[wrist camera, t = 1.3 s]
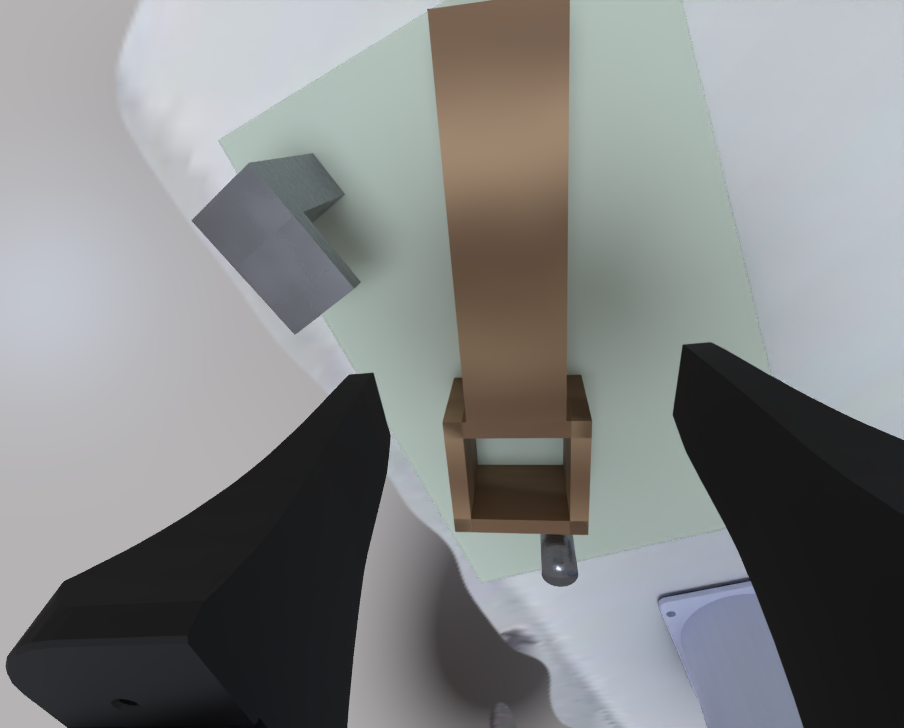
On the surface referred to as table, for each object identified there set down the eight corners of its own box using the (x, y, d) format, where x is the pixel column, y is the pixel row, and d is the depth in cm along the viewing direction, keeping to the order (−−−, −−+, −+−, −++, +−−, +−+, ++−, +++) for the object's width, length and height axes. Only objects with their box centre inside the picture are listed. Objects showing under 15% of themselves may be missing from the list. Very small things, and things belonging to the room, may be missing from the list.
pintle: (573, 509, 26) (583, 582, 22) (544, 516, 27) (549, 589, 23) (563, 487, 26) (570, 558, 22) (534, 495, 26) (536, 565, 22)
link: (578, 477, 26) (588, 535, 22) (464, 476, 26) (455, 532, 23) (589, 13, 17) (607, -17, 13) (419, 35, 18) (393, 14, 14)
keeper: (390, 252, 22) (354, 289, 17) (342, 290, 23) (295, 334, 18) (312, 153, 20) (249, 162, 15) (265, 198, 21) (191, 220, 16)
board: (798, 504, 25) (803, 510, 25) (481, 576, 30) (481, 583, 30) (648, -120, 16) (651, -127, 15) (224, 140, 21) (217, 140, 20)
